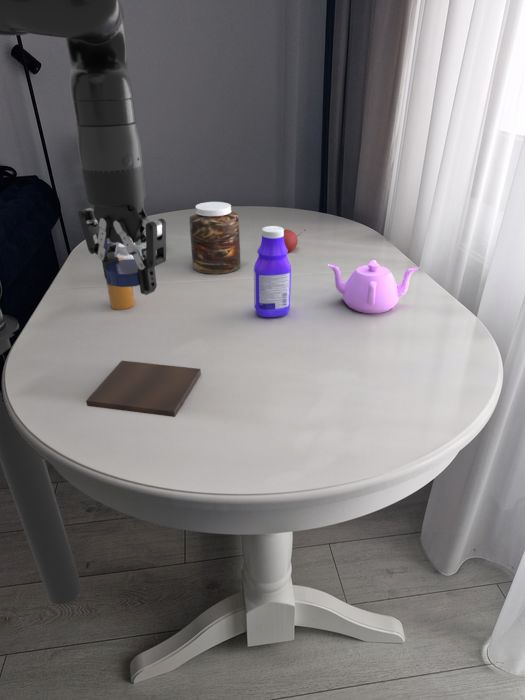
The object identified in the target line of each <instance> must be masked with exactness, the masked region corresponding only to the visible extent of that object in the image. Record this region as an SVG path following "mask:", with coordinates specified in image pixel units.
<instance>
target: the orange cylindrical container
mask: <svg viewBox="0 0 525 700" xmlns="http://www.w3.org/2000/svg"><path fill="white" fill-rule="evenodd" d="M118 259H119V261H120V260H126V259H124V258H118ZM105 282H106V288H107V293H108V299H109V305H110V308H111V309H113V310H115V311H116V310H117V311H121V310H129V309H131V308H133V307H134V306H135V305H136V303H135V296H134V295H135V294H134V287H133V286H132V287H117V286H111V285H108V284H107V281H106V280H105Z"/></svg>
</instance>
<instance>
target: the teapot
mask: <svg viewBox="0 0 525 700" xmlns="http://www.w3.org/2000/svg"><path fill="white" fill-rule="evenodd" d="M327 266H328V267H329V268H331V270H332V271H333V274H334V284H335V287H336V290H337V291H338V293H340V295H342V299H343V301H344V302H345V304H346V305H347V306H348V307H349V308H350V309H352V310H353V311H355V312H358V313H362V314H363V313H364V314H383V313H386V312H388V311H390V310H392V309H393V308H394V307H395V306H396V305H397V304H398V302H399V299H400V298H402V297H403V296H405V294H406V293H407V291H408V289H409V285H410V279H411V276H412V274H413V273H414V272H415V271H416V270H419V267H418V266H416V267H410V268H408V269H406V270H405V272H404V275H403V278H402V281H401V283H399V284H397V282H396V279H395V277H394V275H393V273H392V272H391V270H389V268H387V267H385V266H382V265H380V263H378V262H377V261H376V259H371V260H370V261H369V262H368V263H367V264H366V265H360V266H359V267H357V268H356V269H355V270H354V271H353V272H352V273H351V274H350V276H349V277H348V279H347V281H346V282H345V281H344V280H343V279H342V273H341V269H340V268H339V266H337V265H335V264H330V263H327Z"/></svg>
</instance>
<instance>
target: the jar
mask: <svg viewBox="0 0 525 700" xmlns="http://www.w3.org/2000/svg"><path fill="white" fill-rule="evenodd" d="M189 236H190V248H191V249H190V250H191V260H192V261H191V262H192V268H193V270H194V271H197V272H200V273H202V274H208V275H223V274H229V273H232V272H236V271H237V270H239V269H240V268H241V236H240V221H239V215H238V213H237V212H235V211H232V204H231V203H228V202H223V201H206V202H201V203H198V204H196V205H195V211H194V212H193V213H191V214H190V215H189Z"/></svg>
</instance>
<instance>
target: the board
mask: <svg viewBox="0 0 525 700" xmlns="http://www.w3.org/2000/svg"><path fill="white" fill-rule="evenodd" d="M201 374H202V371H201V368H196V367H187V366H179V365H167V364H159V363H151V362H149V363H148V362H139V361H129V360H120V361H119V363H118V364H117V365H116V366H115V367H114V368H113V370H112V371H111V372H110V373H109V374H108V375H107V376H106V378H105V379H104V380H103V381H102V382H101V383H100V384H99V386H98V387H97V388H96V389H95V390H94V391H93V392H92V393H91V395H90V396H89V397H87V399H86V400H85V403H86V406H87V407H92V408H100V409H109V410H115V411H122V412H123V411H125V412H130V413H131V412H133V413H140V414H147V415H157V416H165V417H171V418H175V417H176V416H177V414H178V413H179V411H180V409H181V408H182V406H183V404H184V403H185V401H186V399H187V398H188V396H189V395H190V393H191V391H192V389H193V388H194V386H195V384H196V383H197V381H198V380H199V378H200V377H201Z"/></svg>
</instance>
